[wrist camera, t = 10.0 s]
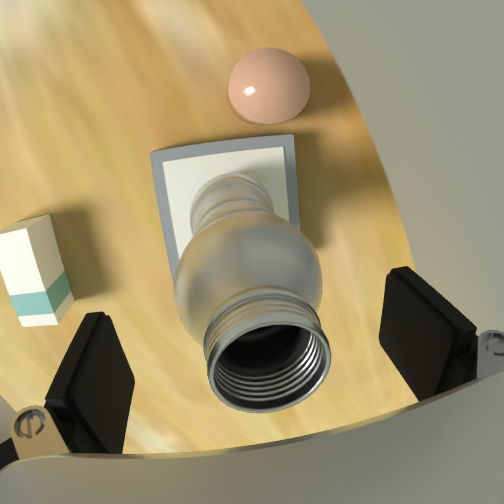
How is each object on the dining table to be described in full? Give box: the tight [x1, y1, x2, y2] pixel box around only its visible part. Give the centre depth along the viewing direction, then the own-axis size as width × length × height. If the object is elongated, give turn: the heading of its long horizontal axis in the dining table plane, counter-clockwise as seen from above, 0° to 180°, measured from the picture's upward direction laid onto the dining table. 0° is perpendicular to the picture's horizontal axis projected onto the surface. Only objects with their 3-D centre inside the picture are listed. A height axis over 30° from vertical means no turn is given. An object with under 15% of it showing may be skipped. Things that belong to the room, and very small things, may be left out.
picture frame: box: [150, 134, 300, 281], centre depth 29 cm, size 12×12×3 cm
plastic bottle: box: [173, 173, 331, 413], centre depth 18 cm, size 6×7×20 cm
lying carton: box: [0, 214, 75, 327], centre depth 28 cm, size 10×5×5 cm, turn 6°
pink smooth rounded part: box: [227, 48, 311, 125], centre depth 24 cm, size 6×6×6 cm
